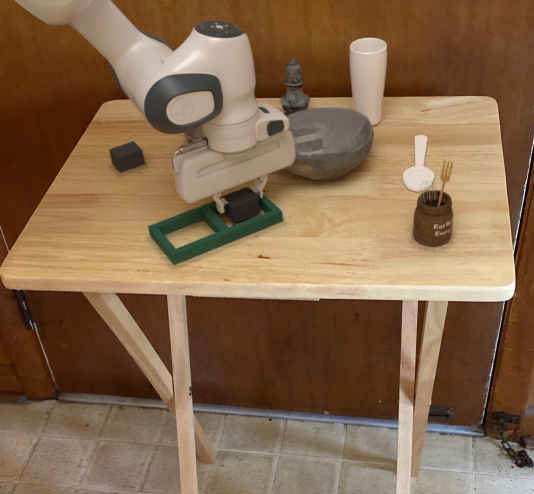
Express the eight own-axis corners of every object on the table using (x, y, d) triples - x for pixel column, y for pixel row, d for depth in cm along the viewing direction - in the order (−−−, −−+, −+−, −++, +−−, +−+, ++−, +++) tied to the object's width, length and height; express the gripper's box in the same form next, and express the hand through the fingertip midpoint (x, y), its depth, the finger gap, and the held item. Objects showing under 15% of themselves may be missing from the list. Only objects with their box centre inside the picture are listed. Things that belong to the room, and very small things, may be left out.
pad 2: (233, 223, 132) (231, 208, 130) (222, 211, 135) (220, 196, 133) (260, 212, 134) (258, 197, 132) (248, 201, 136) (246, 186, 134)
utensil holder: (405, 239, 128) (408, 173, 120) (427, 219, 131) (432, 154, 123) (437, 252, 125) (442, 186, 116) (459, 232, 128) (466, 166, 120)
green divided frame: (174, 265, 127) (172, 255, 126) (149, 235, 134) (147, 226, 132) (283, 221, 134) (282, 211, 132) (255, 195, 140) (254, 185, 139)
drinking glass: (388, 113, 157) (390, 38, 147) (382, 130, 153) (383, 54, 143) (353, 111, 159) (353, 36, 149) (346, 128, 154) (345, 52, 144)
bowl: (348, 133, 153) (348, 94, 147) (391, 179, 140) (392, 138, 135) (258, 157, 149) (255, 117, 144) (294, 206, 137) (291, 165, 131)
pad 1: (120, 172, 149) (117, 158, 147) (112, 163, 152) (108, 149, 149) (145, 163, 150) (142, 149, 148) (136, 154, 153) (133, 140, 151)
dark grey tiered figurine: (309, 124, 157) (306, 64, 149) (279, 123, 158) (274, 65, 150) (312, 109, 161) (310, 50, 153) (283, 109, 162) (279, 51, 154)
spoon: (436, 137, 149) (436, 134, 149) (433, 192, 136) (433, 189, 136) (406, 136, 150) (406, 134, 150) (401, 191, 137) (401, 188, 137)
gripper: (178, 159, 118) (192, 235, 128) (298, 116, 125) (302, 192, 134) (161, 141, 123) (175, 216, 132) (277, 100, 129) (283, 175, 139)
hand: (240, 204), depth 133 cm, fingers closed on pad 2, 5 cm apart
